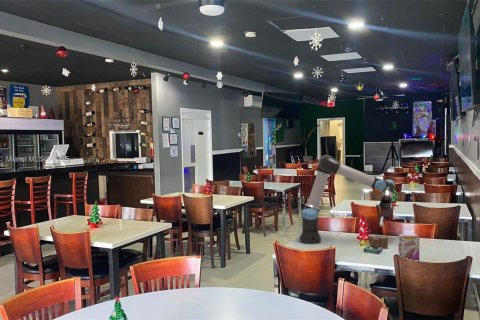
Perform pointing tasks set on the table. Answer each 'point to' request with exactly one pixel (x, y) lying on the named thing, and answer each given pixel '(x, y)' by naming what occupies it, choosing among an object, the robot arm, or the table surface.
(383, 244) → the walnut T block
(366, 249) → the teal T socket
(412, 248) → the candy bar box
